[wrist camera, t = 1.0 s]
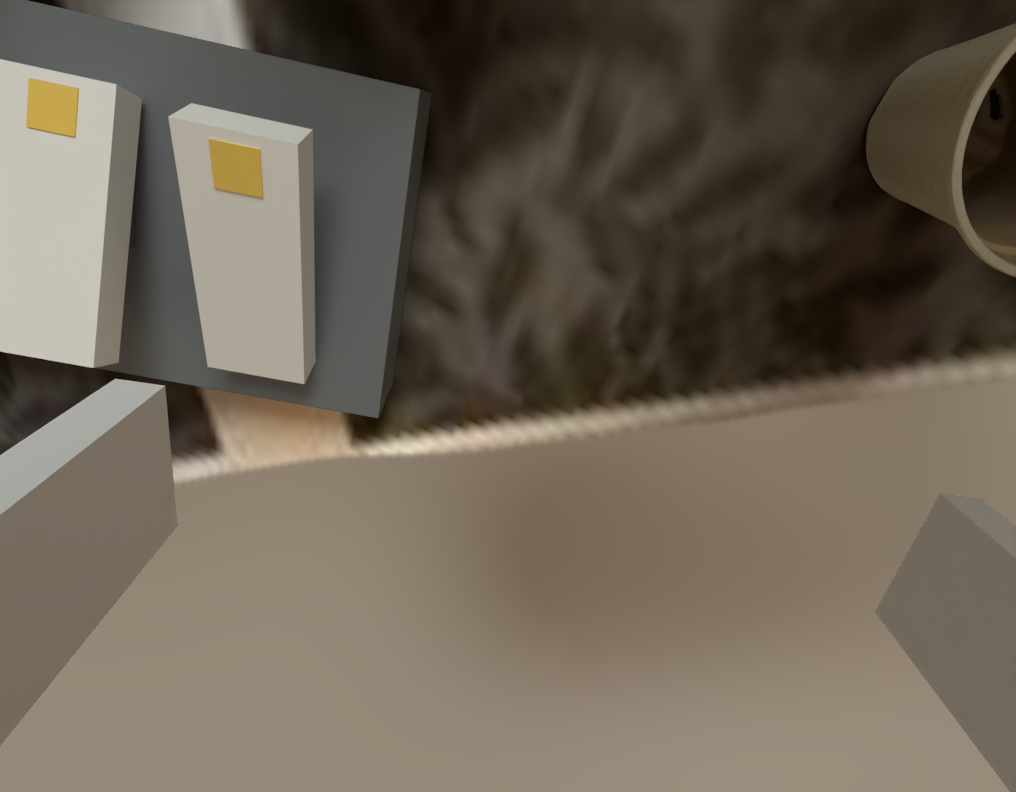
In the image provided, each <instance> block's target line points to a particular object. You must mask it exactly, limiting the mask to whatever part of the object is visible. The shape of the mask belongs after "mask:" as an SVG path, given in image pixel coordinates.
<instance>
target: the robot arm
mask: <svg viewBox="0 0 1016 792" xmlns="http://www.w3.org/2000/svg"><path fill="white" fill-rule="evenodd" d="M176 527H177V516H176V504H175V493H174V481H173V469H172V458H171V447H170V435H169V424H168V413H167V401H166V390H165V386H164V385H157V384H150V383H142V382H135V381H128V380H121V379H114V380H113V381H111V382H110V383H108V384H107V385H105V386H104V387H102V388H101V389H99V390H98V391H96V392H95V393H93V394H92V395H90V396H89V397H87V398H86V399H84V400H83V401H81V402H80V403H78V404H77V405H75V406H74V407H72V408H71V409H69V410H68V411H66V412H65V413H63V414H62V415H60V416H58V417H57V418H55V419H54V420H52V421H51V422H49V423H48V424H46V425H45V426H43V427H42V428H40V429H39V430H37V431H36V432H34V433H33V434H31V435H30V436H28V437H27V438H25V439H24V440H22V441H21V442H19V443H18V444H16V445H15V446H13V447H12V448H10V449H9V450H7V451H6V452H4V453H3V454H1V455H0V745H1V744H2V743H3V742H4V740H5V739H6V738H7V736H8V735H9V734H10V733H11V732H12V730H13V729H14V728H15V727H16V725H17V724H18V723H19V722H20V720H21V719H22V718H23V717H24V716H25V714H26V713H27V712H28V710H29V709H30V708H31V707H32V706H33V704H34V703H35V702H36V701H37V699H38V698H39V697H40V696H41V694H42V693H43V692H44V691H45V689H46V688H47V687H48V686H49V685H50V683H51V682H52V681H53V680H54V678H55V677H56V676H57V674H58V673H59V672H60V671H61V670H62V668H63V667H64V666H65V665H66V663H67V662H68V661H69V660H70V658H71V657H72V656H73V655H74V654H75V652H76V651H77V650H78V649H79V647H80V646H81V645H82V644H83V642H84V641H85V640H86V639H87V637H88V636H89V635H90V633H91V632H92V631H93V630H94V629H95V627H96V626H97V625H98V624H99V622H100V621H101V620H102V619H103V618H104V616H105V615H106V614H107V613H108V611H109V610H110V609H111V608H112V606H113V605H114V604H115V603H116V601H117V600H118V599H119V598H120V596H121V595H122V594H123V593H124V592H125V590H126V589H127V588H128V587H129V585H130V584H131V583H132V582H133V580H134V579H135V578H136V577H137V575H138V574H139V573H140V572H141V570H142V569H143V568H144V567H145V565H146V564H147V563H148V562H149V560H150V559H151V558H152V557H153V555H154V554H155V553H156V552H157V551H158V549H159V548H160V547H161V546H162V544H163V543H164V542H165V541H166V539H167V538H168V537H169V536H170V534H171V533H172V532H173V531H174V529H175V528H176ZM875 612H876V614H877V615H878V616H879V618H880V619H881V620H882V621H883V623H884V624H885V626H886V627H887V628H888V630H889V631H890V632H891V634H892V635H893V636H894V638H895V639H896V640H897V641H898V643H899V644H900V646H901V647H902V648H903V650H904V651H905V652H906V654H907V655H908V656H909V658H910V659H911V660H912V662H913V663H914V664H915V666H916V667H917V668H918V670H919V671H920V672H921V674H922V675H923V676H924V678H925V679H926V680H927V682H928V683H929V684H930V686H931V687H932V688H933V690H934V691H935V692H936V694H937V695H938V696H939V698H940V699H941V700H942V702H943V703H944V704H945V706H946V707H947V708H948V710H949V711H950V712H951V714H952V715H953V716H954V718H955V719H956V720H957V721H958V723H959V724H960V726H961V727H962V728H963V730H964V731H965V732H966V734H967V735H968V736H969V738H970V739H971V740H972V742H973V743H974V744H975V746H976V747H977V748H978V750H979V751H980V752H981V754H982V755H983V756H984V758H985V759H986V760H987V762H988V763H989V764H990V766H991V767H992V768H993V770H994V771H995V772H996V774H997V775H998V776H999V778H1000V779H1001V780H1002V782H1003V783H1004V784H1005V786H1006V787H1007V788H1008V790H1009V791H1010V792H1016V526H1015V525H1013V524H1012V523H1011V522H1009V521H1008V520H1007V519H1006V518H1005V517H1003V516H1002V515H1001V514H999V513H998V512H997V511H996V510H994V509H993V508H992V507H991V506H989V505H988V504H987V503H986V502H984V501H983V500H982V499H977V498H970V497H962V496H955V495H948V494H940V495H939V497H938V499H937V501H936V502H935V504H934V506H933V508H932V510H931V512H930V514H929V515H928V517H927V519H926V521H925V523H924V525H923V526H922V528H921V530H920V532H919V534H918V535H917V537H916V539H915V541H914V543H913V544H912V546H911V548H910V550H909V551H908V553H907V555H906V557H905V559H904V561H903V562H902V564H901V566H900V568H899V570H898V571H897V573H896V575H895V577H894V579H893V580H892V582H891V584H890V586H889V588H888V590H887V591H886V593H885V595H884V597H883V599H882V601H881V602H880V604H879V606H878V608H877V610H876V611H875Z"/></svg>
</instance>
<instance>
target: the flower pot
mask: <svg viewBox="0 0 1016 792" xmlns="http://www.w3.org/2000/svg"><path fill="white" fill-rule="evenodd" d="M993 89H995V93H996V95H997V96H998V102H999V106H1000V111H999V117H998V119H997V120H994V119H992V118H991V117H990V109H991V104H990V92H991V91H992V90H993ZM866 157H867V162H868V166H869V169H870V172H871V174H872V176H873V178H874V179H875V181H876V182H877V184H878V185H879V186H880V187H881V188H882V189H883V190H884V191H886V192H887V193H888V194H890V195H891V196H893V197H895V198H896V199H898V200H901V201H903V202H906V203H908V204H910V205H912V206H914V207H916V208H918V209H920V210H922V211H924V212H926V213H928V214H930V215H932V216H934V217H936V218H938V219H940V220H942V221H944V222H946V223H948V224H950V225H952V226H953V227H955V228H956V229H957V231H958V232H959V233H960V235H961V237H962V238H963V240H964V241H965V243H966V244H967V246H968V247H969V248H970V249H971V250H972V251H973V253H974V254H976V255H977V256H978V257H979V258H980V259H981V260H983V261H984V262H985V263H987V264H988V265H990V266H991V267H993V268H995V269H997V270H999V271H1001V272H1003V273H1006V274H1008V275H1011V276H1014V277H1016V23H1015V24H1012V25H1010V26H1007V27H1004V28H1002V29H999V30H996V31H993V32H991V33H988V34H985V35H983V36H980V37H977V38H975V39H972V40H969V41H966V42H963V43H960V44H957V45H954V46H951V47H949V48H945V49H942V50H939V51H936V52H933V53H931V54H929V55H927V56H925V57H923V58H921V59H920V60H918V61H916V62H915V63H914V64H912V65H911V66H909V67H908V68H907V69H906V70H904V71H903V72H902V73H901V74H900V75H899V76H898V77H897V78H896V79H895V80H894V81H893V82H892V84H891V85H890V87H889V89H888V91H887V92H886V94H885V95H884V97H883V98H882V100H881V102H880V104H879V105H878V107H877V109H876V111H875V112H874V114H873V116H872V117H871V120H870V122H869V126H868V130H867V138H866Z"/></svg>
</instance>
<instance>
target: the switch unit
mask: <svg viewBox="0 0 1016 792" xmlns="http://www.w3.org/2000/svg"><path fill="white" fill-rule="evenodd" d="M0 59H2V60H7V61H11V62H16V63H21V64H25V65H30V66H34V67H39V68H44V69H48V70H53V71H57V72H62V73H67V74H71V75H76V76H80V77H85V78H90V79H94V80H99V81H103V82H108V83H113V84H117V85H119V86H120V87H122V88H124V89H126V90H127V91H129V92H131V93H133V94H134V95H136V96H138V97H140V98H141V99H142V104H141V115H140V126H139V138H138V149H137V160H136V172H135V183H134V194H133V206H132V217H131V228H130V239H129V251H128V262H127V273H126V285H125V296H124V307H123V319H122V330H121V341H120V352H119V363H115V364H110V365H106V366H101V367H96V368H98V369H104V370H109V371H115V372H120V373H126V374H132V375H137V376H143V377H149V378H154V379H160V380H166V381H171V382H177V383H182V384H188V385H194V386H199V387H205V388H211V389H216V390H222V391H228V392H233V393H239V394H244V395H250V396H256V397H261V398H267V399H273V400H278V401H284V402H290V403H295V404H301V405H306V406H312V407H318V408H323V409H329V410H335V411H340V412H346V413H351V414H357V415H363V416H368V417H374V418H379V415H380V413H381V410H382V408H383V406H384V403H385V401H386V399H387V396H388V394H389V392H390V389H391V387H392V385H393V379H394V372H395V364H396V357H397V349H398V342H399V335H400V327H401V320H402V312H403V305H404V297H405V290H406V283H407V275H408V268H409V260H410V253H411V246H412V238H413V231H414V223H415V216H416V208H417V201H418V194H419V186H420V179H421V171H422V164H423V157H424V149H425V142H426V134H427V127H428V119H429V112H430V105H431V97H432V93H430V92H427V91H424V90H421V89H417V88H412V87H408V86H403V85H399V84H395V83H390V82H386V81H381V80H377V79H373V78H368V77H364V76H359V75H355V74H351V73H346V72H342V71H337V70H333V69H328V68H324V67H320V66H315V65H311V64H306V63H302V62H298V61H293V60H289V59H284V58H280V57H276V56H271V55H267V54H262V53H258V52H253V51H249V50H245V49H240V48H236V47H231V46H227V45H223V44H218V43H214V42H209V41H205V40H201V39H196V38H192V37H187V36H183V35H178V34H174V33H170V32H165V31H161V30H156V29H152V28H148V27H143V26H139V25H134V24H130V23H126V22H121V21H117V20H112V19H108V18H103V17H99V16H95V15H90V14H86V13H81V12H77V11H73V10H68V9H64V8H59V7H55V6H51V5H46V4H42V3H37V2H33V1H28V0H0ZM191 103H193V104H198V105H202V106H207V107H212V108H216V109H221V110H225V111H230V112H235V113H239V114H244V115H248V116H253V117H258V118H262V119H267V120H271V121H276V122H281V123H285V124H290V125H294V126H299V127H304V128H308V129H313V180H314V266H315V351H316V362H315V364H314V366H313V368H312V370H311V372H310V374H309V376H308V378H307V380H306V382H305V384H300V383H295V382H289V381H284V380H278V379H272V378H267V377H261V376H256V375H250V374H245V373H239V372H234V371H228V370H223V369H217V368H211V367H208V365H207V359H206V353H205V346H204V340H203V334H202V327H201V321H200V315H199V308H198V302H197V296H196V289H195V283H194V277H193V270H192V264H191V258H190V251H189V245H188V239H187V232H186V226H185V220H184V213H183V207H182V201H181V194H180V188H179V182H178V175H177V169H176V163H175V157H174V150H173V144H172V138H171V131H170V125H169V119H168V116H170V115H172V114H173V113H175V112H177V111H179V110H180V109H182V108H184V107H186V106H187V105H189V104H191Z"/></svg>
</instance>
